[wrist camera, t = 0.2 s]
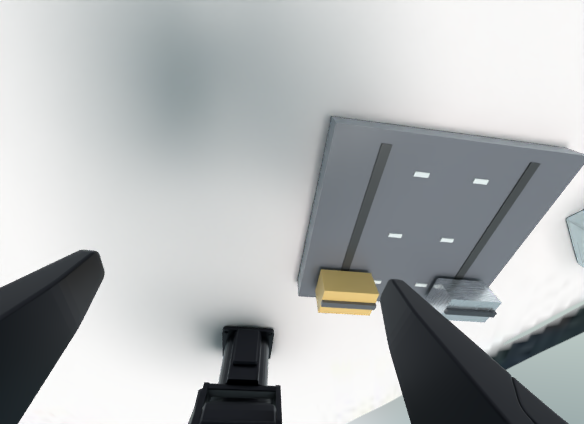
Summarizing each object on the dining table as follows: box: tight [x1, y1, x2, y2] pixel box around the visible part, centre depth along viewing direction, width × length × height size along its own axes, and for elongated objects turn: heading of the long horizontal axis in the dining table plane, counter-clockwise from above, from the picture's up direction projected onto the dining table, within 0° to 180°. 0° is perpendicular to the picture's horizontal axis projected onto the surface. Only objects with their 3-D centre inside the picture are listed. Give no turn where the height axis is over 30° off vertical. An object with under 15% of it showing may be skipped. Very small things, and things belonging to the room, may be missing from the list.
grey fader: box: [426, 278, 502, 322], centre depth 26 cm, size 3×5×3 cm, turn 82°
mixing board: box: [298, 116, 584, 302], centre depth 25 cm, size 18×20×2 cm
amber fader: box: [315, 269, 379, 315], centre depth 25 cm, size 3×5×3 cm, turn 82°
